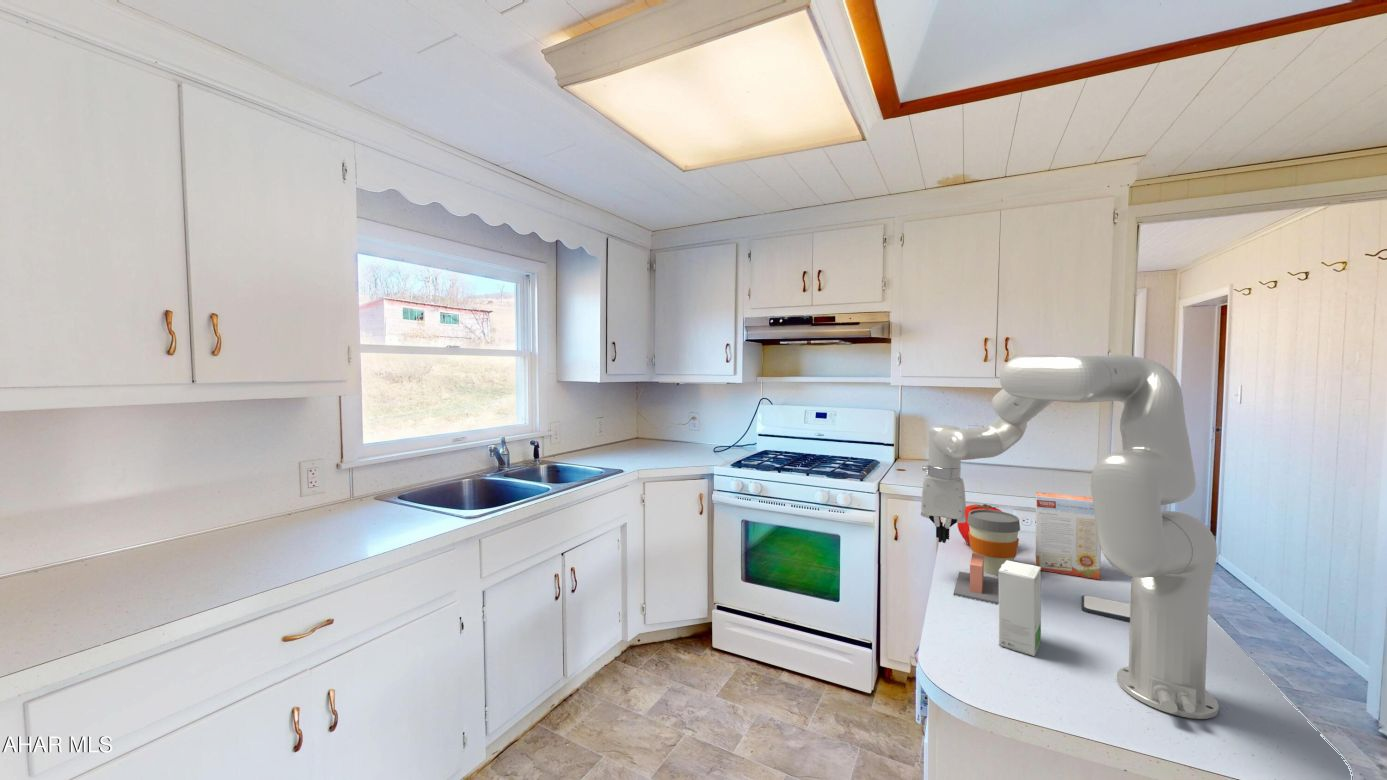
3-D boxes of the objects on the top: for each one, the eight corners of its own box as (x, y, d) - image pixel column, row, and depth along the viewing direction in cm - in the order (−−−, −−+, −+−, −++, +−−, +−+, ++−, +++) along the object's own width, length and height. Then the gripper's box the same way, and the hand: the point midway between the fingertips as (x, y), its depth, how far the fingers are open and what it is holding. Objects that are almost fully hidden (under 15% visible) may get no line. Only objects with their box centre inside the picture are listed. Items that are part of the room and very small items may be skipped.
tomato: (1009, 559, 145) (1009, 512, 144) (956, 550, 152) (956, 506, 151) (1007, 542, 158) (1007, 500, 158) (958, 535, 165) (958, 495, 165)
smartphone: (1081, 614, 114) (1178, 635, 104) (1081, 607, 114) (1178, 628, 104) (1081, 600, 121) (1172, 618, 111) (1081, 593, 121) (1172, 611, 111)
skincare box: (1034, 657, 96) (1035, 579, 96) (995, 645, 101) (996, 570, 100) (1041, 640, 102) (1042, 566, 102) (1004, 628, 107) (1005, 558, 106)
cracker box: (1097, 572, 134) (1098, 496, 134) (1100, 581, 129) (1102, 502, 128) (1034, 562, 142) (1035, 490, 141) (1035, 570, 137) (1036, 495, 136)
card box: (981, 593, 122) (982, 566, 122) (969, 591, 123) (969, 564, 123) (983, 580, 130) (983, 554, 129) (971, 578, 131) (972, 552, 131)
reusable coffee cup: (1020, 581, 130) (1021, 525, 129) (965, 572, 136) (966, 518, 136) (1018, 565, 140) (1019, 513, 140) (968, 556, 147) (968, 507, 146)
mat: (1026, 610, 115) (1026, 608, 114) (953, 595, 123) (953, 592, 123) (1025, 586, 127) (1025, 583, 127) (959, 573, 135) (959, 571, 135)
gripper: (910, 472, 130) (909, 540, 132) (975, 479, 122) (973, 551, 123) (915, 466, 137) (914, 531, 138) (977, 473, 128) (976, 542, 130)
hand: (942, 540), depth 131 cm, fingers closed
